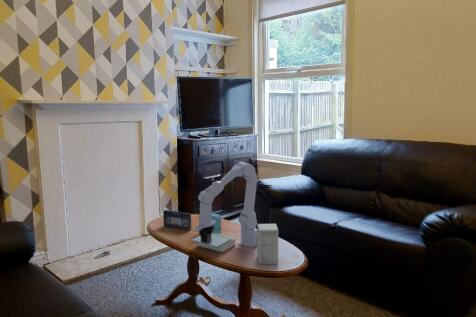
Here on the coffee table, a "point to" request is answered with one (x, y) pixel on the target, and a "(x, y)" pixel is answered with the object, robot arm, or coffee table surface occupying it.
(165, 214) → the vhs cassette tape
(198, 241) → the lid flap
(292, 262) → the coffee table surface
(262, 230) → the supplement box
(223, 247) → the carton
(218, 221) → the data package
